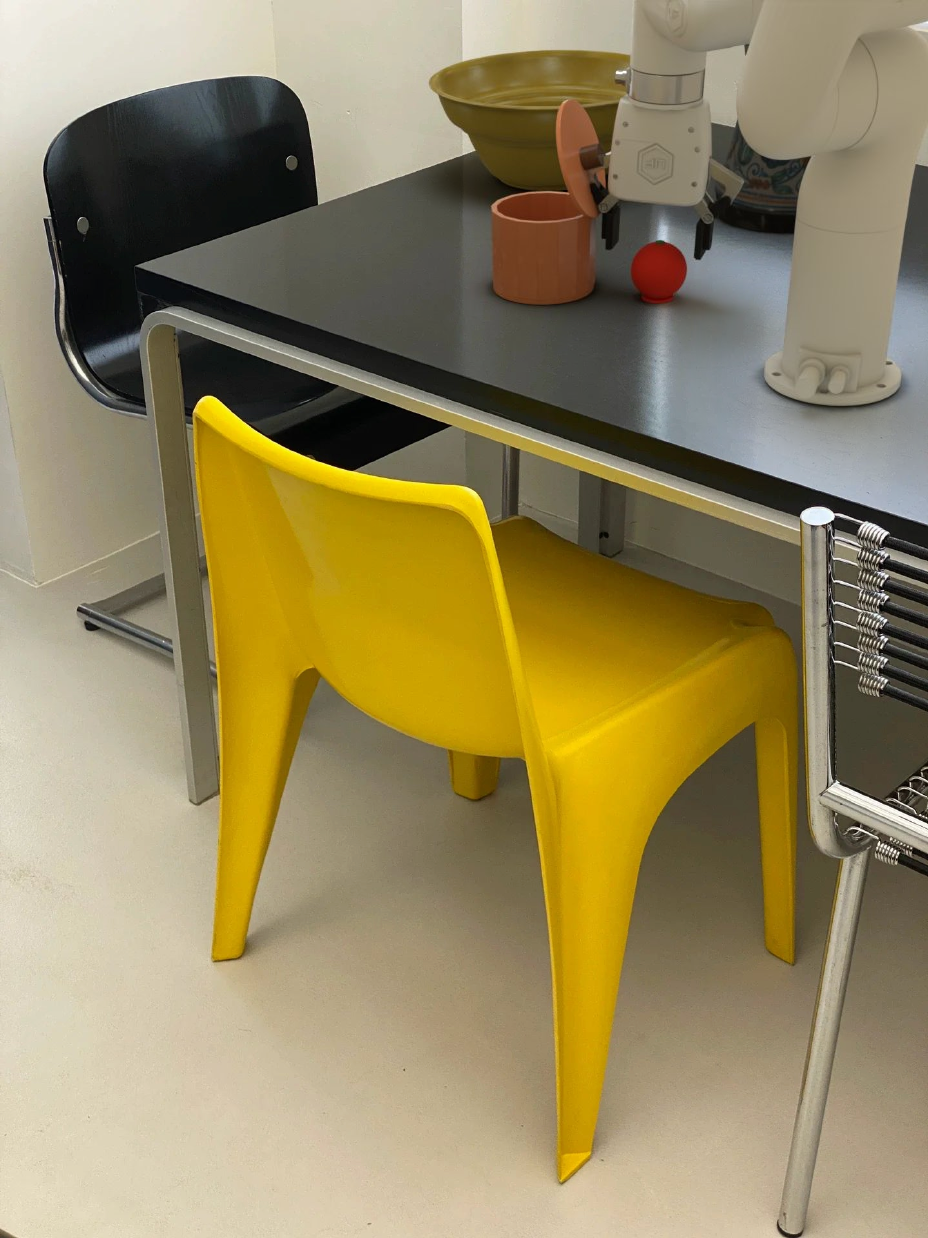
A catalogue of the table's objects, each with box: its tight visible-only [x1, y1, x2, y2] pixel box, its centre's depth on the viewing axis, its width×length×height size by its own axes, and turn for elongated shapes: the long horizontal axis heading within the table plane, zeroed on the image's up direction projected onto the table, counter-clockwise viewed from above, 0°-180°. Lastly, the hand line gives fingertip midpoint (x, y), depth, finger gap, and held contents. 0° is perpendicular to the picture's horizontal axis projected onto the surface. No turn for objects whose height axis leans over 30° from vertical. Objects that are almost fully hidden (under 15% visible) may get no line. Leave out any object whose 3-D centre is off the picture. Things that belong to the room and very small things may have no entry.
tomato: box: [630, 239, 688, 304], centre depth 153 cm, size 6×6×6 cm
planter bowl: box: [428, 49, 630, 192], centre depth 190 cm, size 32×32×13 cm
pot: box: [490, 191, 597, 306], centre depth 156 cm, size 11×11×9 cm
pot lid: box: [556, 99, 607, 219], centre depth 149 cm, size 12×12×3 cm
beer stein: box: [714, 44, 811, 234], centre depth 170 cm, size 16×19×25 cm
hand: (655, 250), depth 152 cm, fingers open, 9 cm apart
